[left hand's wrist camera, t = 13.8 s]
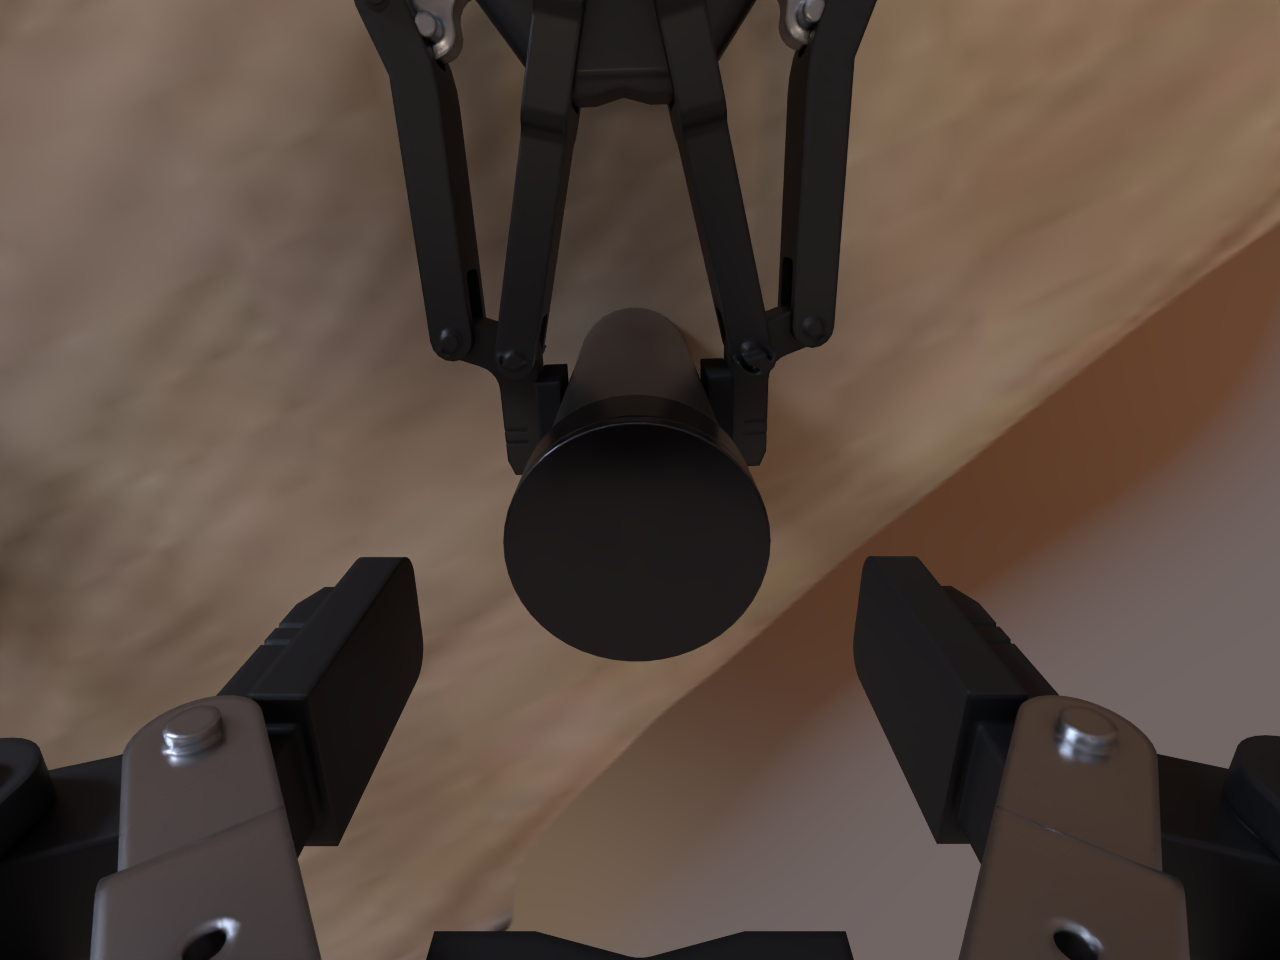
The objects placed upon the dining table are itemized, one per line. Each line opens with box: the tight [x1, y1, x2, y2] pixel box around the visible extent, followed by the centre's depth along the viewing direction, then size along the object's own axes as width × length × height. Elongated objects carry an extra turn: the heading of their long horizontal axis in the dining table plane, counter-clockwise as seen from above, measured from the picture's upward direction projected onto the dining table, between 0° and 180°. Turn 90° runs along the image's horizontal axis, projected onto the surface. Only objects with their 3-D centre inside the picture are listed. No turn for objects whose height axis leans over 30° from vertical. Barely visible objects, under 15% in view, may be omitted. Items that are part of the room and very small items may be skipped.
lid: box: [503, 395, 771, 661], centre depth 14 cm, size 5×5×2 cm
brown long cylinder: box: [553, 308, 718, 426], centre depth 21 cm, size 4×4×16 cm
